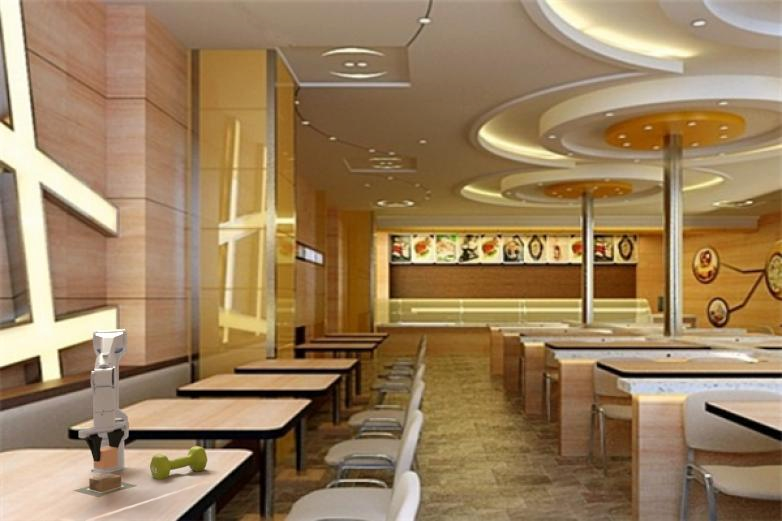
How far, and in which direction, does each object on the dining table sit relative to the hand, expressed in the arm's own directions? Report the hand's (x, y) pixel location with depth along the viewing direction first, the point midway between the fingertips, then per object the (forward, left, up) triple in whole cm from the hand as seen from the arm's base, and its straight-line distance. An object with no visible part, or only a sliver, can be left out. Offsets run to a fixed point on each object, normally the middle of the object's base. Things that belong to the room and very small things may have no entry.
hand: (104, 458), depth 193 cm
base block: (0, 0, -8) cm, 8 cm away
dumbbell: (+6, +21, -9) cm, 24 cm away
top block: (0, 0, -2) cm, 2 cm away
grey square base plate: (0, 0, -9) cm, 9 cm away
